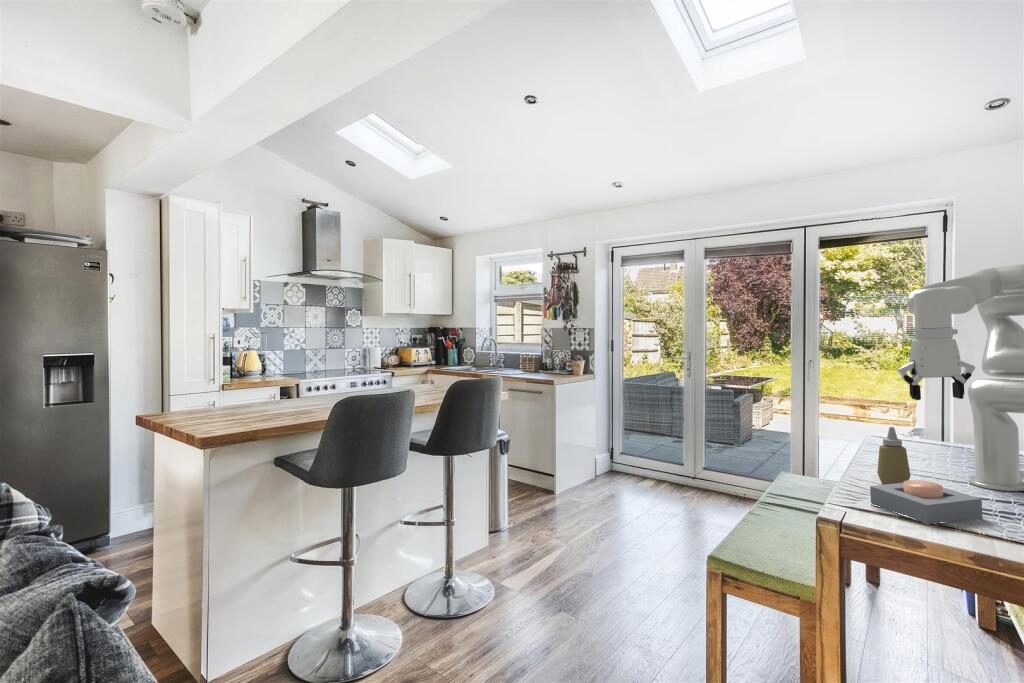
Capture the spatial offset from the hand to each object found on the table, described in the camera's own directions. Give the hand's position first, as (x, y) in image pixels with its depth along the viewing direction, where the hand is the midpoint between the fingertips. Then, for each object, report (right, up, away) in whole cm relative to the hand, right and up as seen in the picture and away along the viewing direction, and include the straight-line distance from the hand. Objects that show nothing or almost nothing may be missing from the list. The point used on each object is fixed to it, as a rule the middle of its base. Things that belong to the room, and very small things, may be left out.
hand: (936, 398), depth 133 cm
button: (-5, -27, -2) cm, 28 cm away
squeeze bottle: (+3, -29, +18) cm, 34 cm away
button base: (-5, -29, -2) cm, 30 cm away
